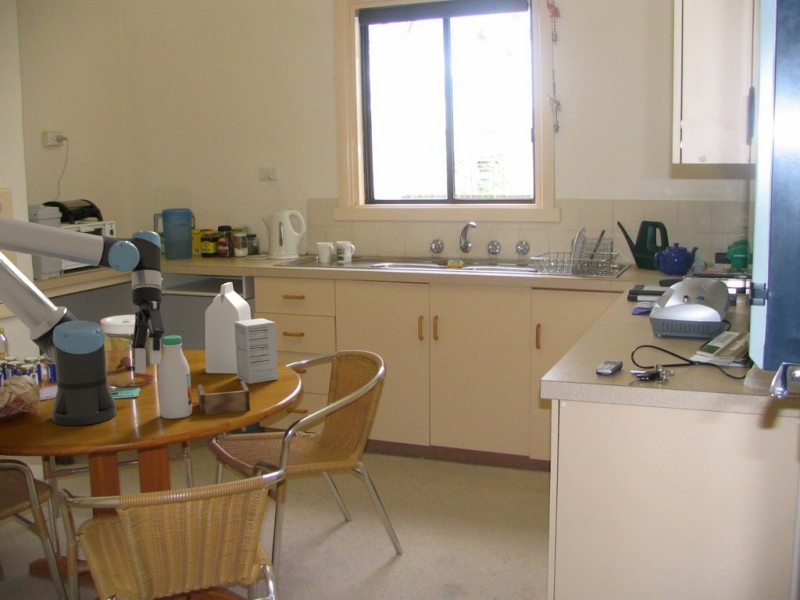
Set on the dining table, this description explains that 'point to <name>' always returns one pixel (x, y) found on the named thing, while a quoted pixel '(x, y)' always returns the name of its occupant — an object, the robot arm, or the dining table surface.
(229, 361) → the milk
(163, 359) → the milk bottle
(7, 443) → the dining table surface
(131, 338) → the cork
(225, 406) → the walnut U-rest
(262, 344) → the supplement box
